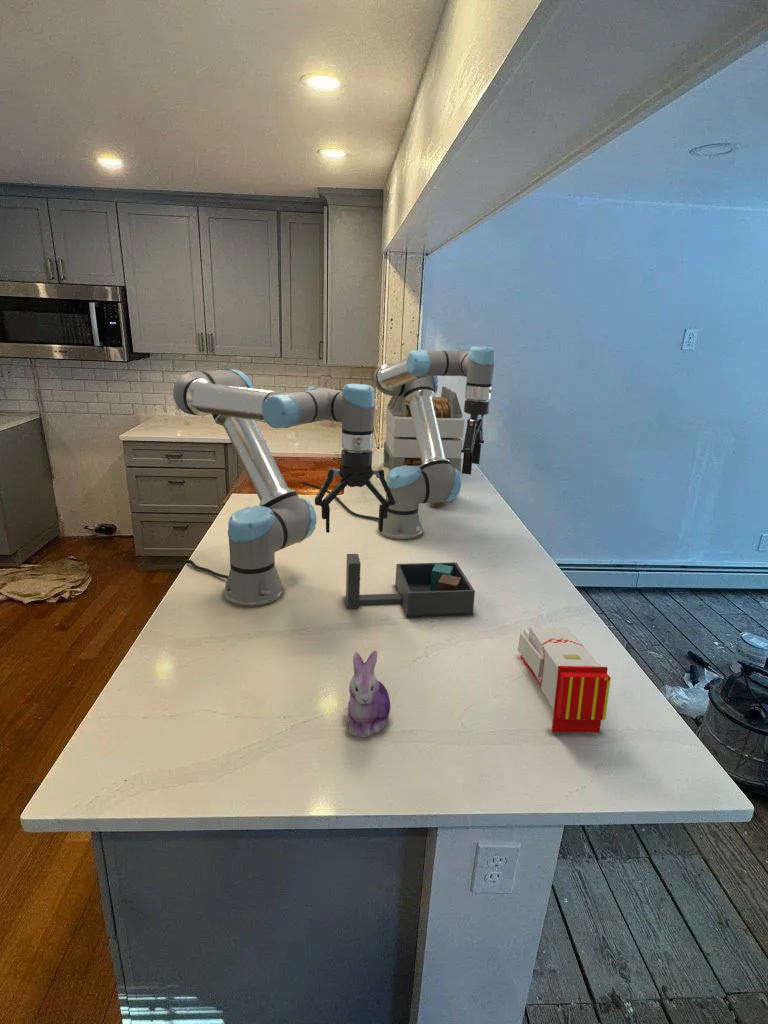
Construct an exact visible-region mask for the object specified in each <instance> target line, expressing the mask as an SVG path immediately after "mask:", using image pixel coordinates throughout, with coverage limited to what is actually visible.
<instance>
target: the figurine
mask: <svg viewBox="0 0 768 1024" xmlns="http://www.w3.org/2000/svg"><path fill="white" fill-rule="evenodd" d="M377 660H378V651H377V650H373V651H372V652H371V653H369V656H368V657H367V660H366V661H365V662H364V660H363V658H362V657H361V655H360V653H359V652H357V651H355V652H354V654H353V659H352V663H353V675H352V677H351V680H350V682H349V686H348V687H349V688H348V690H349V694H350V696H349V700H348V703H347V717H346V721H347V725H348V732H349V734H351V735H352V736H357V737H359V738H360V737H361V738H367V737H369V736H371V735H372V734H377V733H380V732H381V731H382V730H383V728H384V727H385V726H386V725H387V723H388V721H389V716H390V712H391V700H390V695H389V691H388V689H387V688H386V687H385V685H384V684H383V682H381V681H379V680H378V678H377V676H376V674H375V669H376V665H377Z"/></svg>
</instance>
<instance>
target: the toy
mask: <svg viewBox="0 0 768 1024" xmlns="http://www.w3.org/2000/svg"><path fill="white" fill-rule="evenodd" d="M518 638H519V639H518V646H517V651H518V653H519V654H520V659H521V660H522V662H523V663H524V665H525V666H526V668H527V669H528V670H529V672H530V673H531V675H532V676H533V678H534V679H535V681H536V683H537V684H538V685H539V687H541V691H542V692H543V694H544V695H545V697H546V698H547V701H548V702H549V704H550V705H551V707H552V709H553V714H552V724H551V732H552V733H586V734H587V733H593V734H595V733H597V734H600V732H601V724H602V721H606V719H607V711H608V710H607V709H608V701H609V694H610V686H611V676H610V675H609V674H608V669H609V668H608V666H601V665H600V663H599V662H598V661H597V660H596V658H594V656H593V655H592V654H591V652H589V651H588V649H587V648H586V647H585V646H584V644H583V643H582V642H581V640H579V639H578V637H577V636H576V635H575V633H573V631H572V630H571V629H570V628H569V627H557V626H556V627H555V626H554V627H553V626H529V628H524V629H523V632H520V633H519V637H518Z"/></svg>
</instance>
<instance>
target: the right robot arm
mask: <svg viewBox="0 0 768 1024" xmlns="http://www.w3.org/2000/svg"><path fill="white" fill-rule="evenodd" d="M495 355H496V349H495V348H494V347H492V346H482V345H473V346H470V348H469V350H466V349H455V350H431V349H427V350H426V349H413V350H410V351H409V353H408V355H407V356H406V358H404V359H401V360H400V361H396V362H394V363H392V362H391V363H390V362H389V363H384V364H382V365H380V366H379V367H378V368H377V369H376V370H375V372H374V374H373V375H374V376H373V382H374V385H375V387H376V388H377V390H378V391H379V392H381V393H382V394H384V395H387V396H389V397H390V396H391V397H392V396H403V398H404V402H405V404H407V405H409V407H410V411H411V416H412V420H413V425H414V430H415V434H416V439H417V443H418V448H419V453H420V457H421V462H422V464H421V466H407V465H404V466H400V467H396V468H393V469H391V470H390V469H389V470H388V472H387V475H386V483H387V485H388V487H389V489H390V491H391V493H392V496H393V498H394V500H395V502H396V503H395V505H390V506H389V508H388V516H387V519H383V532H380V531H379V530H378V533H379V534H380V535H381V536H382V537H385V538H387V539H389V540H395V541H410V540H415V539H418V538H420V537H421V536H422V535H423V525H422V524H421V518H420V515H419V507H420V506H419V505H423V504H429V503H436V502H447V501H449V502H452V501H455V500H457V498H458V497H459V494H460V492H461V487H462V476H461V474H462V475H472V468H473V464H474V465H480V462H481V461H480V460H481V451H482V444H484V443H485V440H484V416H486V415H489V413H490V407H491V403H490V401H489V400H491V394H493V393H494V390H493V389H492V385H493V378H494V376H493V375H494V371H495V370H494V369H495V364H496V363H495V362H496V360H495V357H496V356H495ZM438 377H466V384H465V392H464V399H465V400H464V406H463V412H464V413H465V414H467V415H470V417H469V418H468V419H467V420H466V429H465V435H464V440H463V444H462V450H461V454H462V453H463V456H462V465H461V474H460V472H459V471H458V470H457V469H456V468H452V466H451V462H450V461H449V460H447V459H446V458H445V455H444V451H443V446H442V442H441V438H440V433H439V429H438V425H437V420H436V416H435V411H434V407H433V403H432V400H433V398H434V397H436V394H437V392H438V388H439V384H438V383H439V378H438ZM301 483H302V485H304V486H308V487H311V488H315V489H318V490H320V488H321V486H318V485H315V484H312V483H308V482H304V481H302V482H301ZM330 492H331V490H328V489H327V491H326V494H329V493H330ZM388 499H389V498H388V496H387V494H386V493H385V500H388ZM334 500H336V501H337V502H338V503H339V505H340V506H341V507H343V508H344V509H345V511H347V512H348V513H349V514H351V515H352V516H355V517H358V518H360V519H362V518H363V519H367V520H374V521H379V517H378V516H377V517H376V516H371V515H364V514H360V513H356V512H355V511H352V510H351V509H350V508H349V507H348V506H347V505H345V503H343V502H342V501H341V499H340V498H339V497H338V495H337V496H336V497H335V498H334ZM447 503H448V502H447Z"/></svg>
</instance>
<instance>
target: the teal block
mask: <svg viewBox="0 0 768 1024" xmlns="http://www.w3.org/2000/svg"><path fill="white" fill-rule="evenodd" d="M443 574H444V575H450V576H452V575H453V566H448V565H442V564H435V566H434V568H433V569H432V574H431V586H430V591H437V590H438V581H439V580H440V578H441V576H442V575H443Z"/></svg>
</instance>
